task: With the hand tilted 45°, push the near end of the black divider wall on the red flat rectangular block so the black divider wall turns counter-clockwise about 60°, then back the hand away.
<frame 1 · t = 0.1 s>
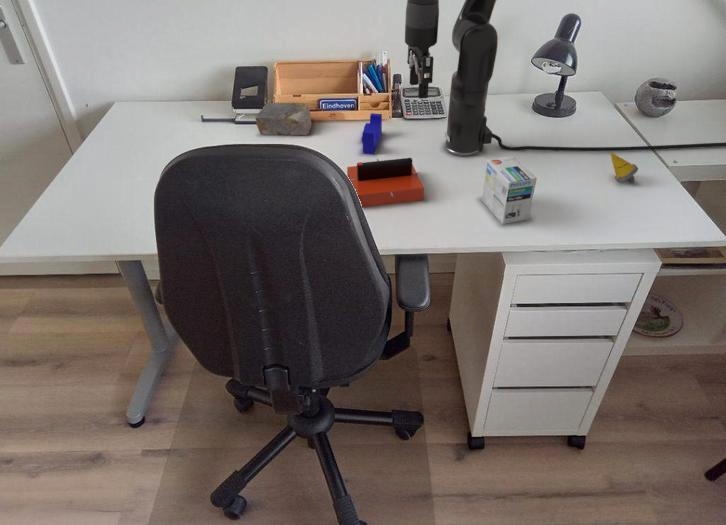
hand: (418, 90, 134), 17 cm above the table, tool pointing down, fingers open, 8 cm apart
cable clip: (369, 143, 150), on the table
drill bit: (619, 182, 133), on the table
red flat rectangular block: (384, 189, 131), on the table
black divider wall: (384, 168, 128), point 6 cm above the table, hinge at 0.0°
geological specimen: (286, 127, 158), on the table
light bulb box: (503, 210, 124), on the table
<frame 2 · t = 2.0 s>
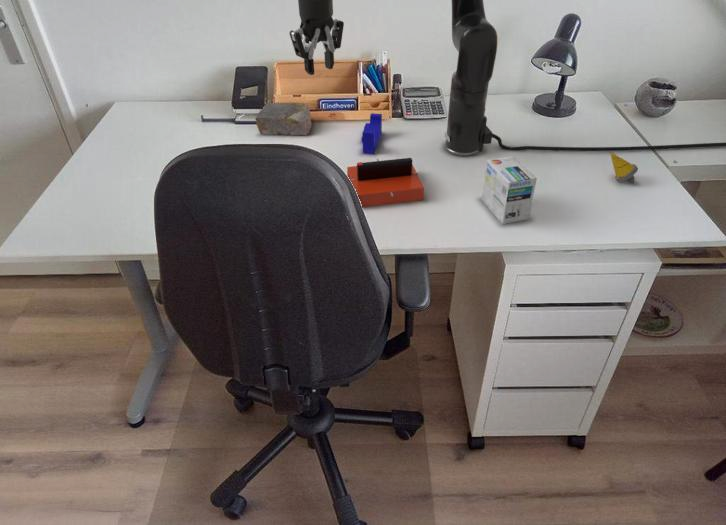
hand: (320, 70, 129), 23 cm above the table, tool pointing down, fingers open, 5 cm apart
nothing on the table moved.
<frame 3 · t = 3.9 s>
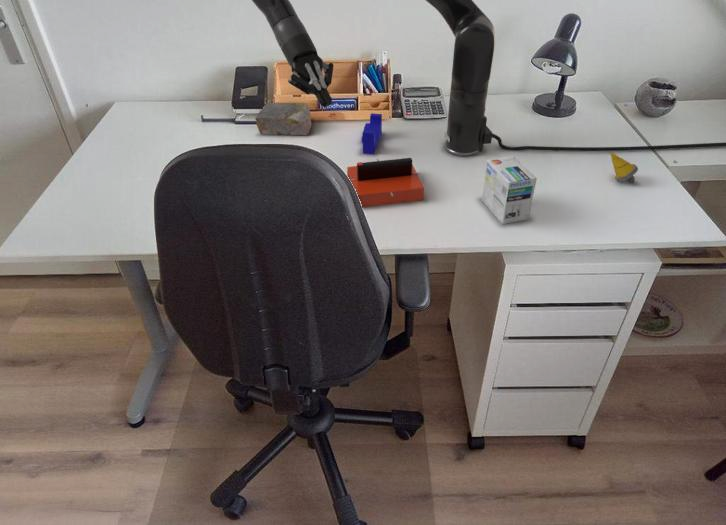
hand: (328, 105, 132), 16 cm above the table, tool tilted 45°, fingers closed
nothing on the table moved.
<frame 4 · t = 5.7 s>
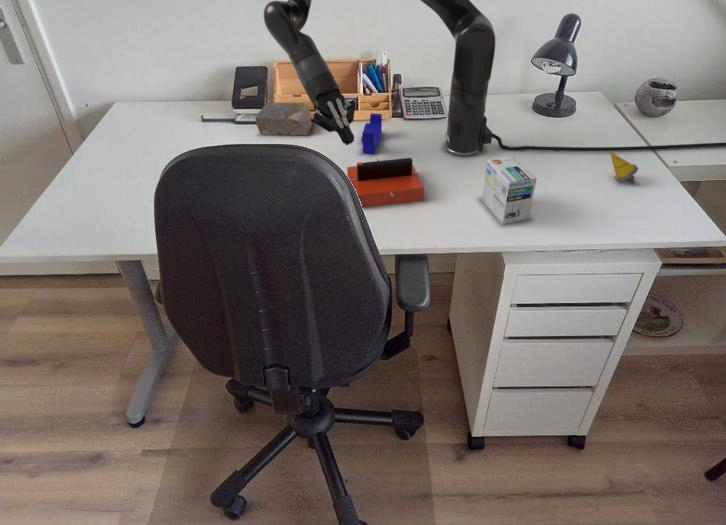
hand: (350, 143, 131), 9 cm above the table, tool tilted 45°, fingers closed
nothing on the table moved.
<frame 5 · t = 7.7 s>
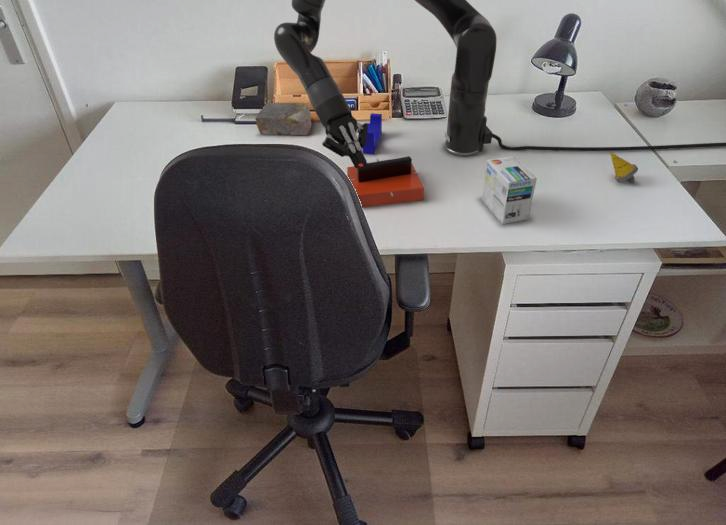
hand: (362, 167, 128), 6 cm above the table, tool tilted 45°, fingers closed
black divider wall: (384, 168, 128), point 6 cm above the table, hinge at 6.3°, touching gripper
everything else where it was.
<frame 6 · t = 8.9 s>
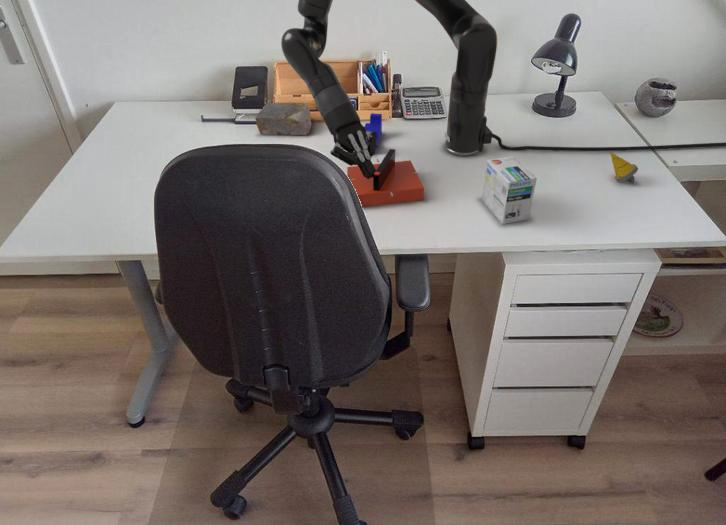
hand: (371, 177, 125), 6 cm above the table, tool tilted 45°, fingers closed
black divider wall: (384, 168, 128), point 6 cm above the table, hinge at 60.7°
everything else where it was.
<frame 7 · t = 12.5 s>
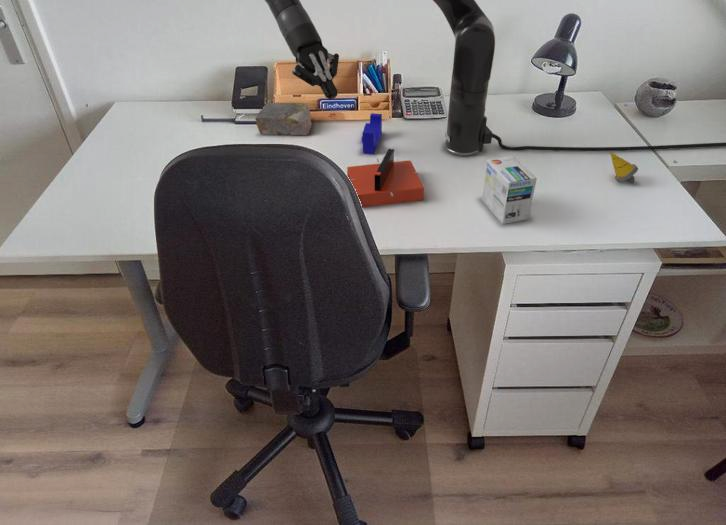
hand: (333, 97, 127), 19 cm above the table, tool tilted 45°, fingers closed
black divider wall: (384, 168, 128), point 6 cm above the table, hinge at 63.5°
everything else where it was.
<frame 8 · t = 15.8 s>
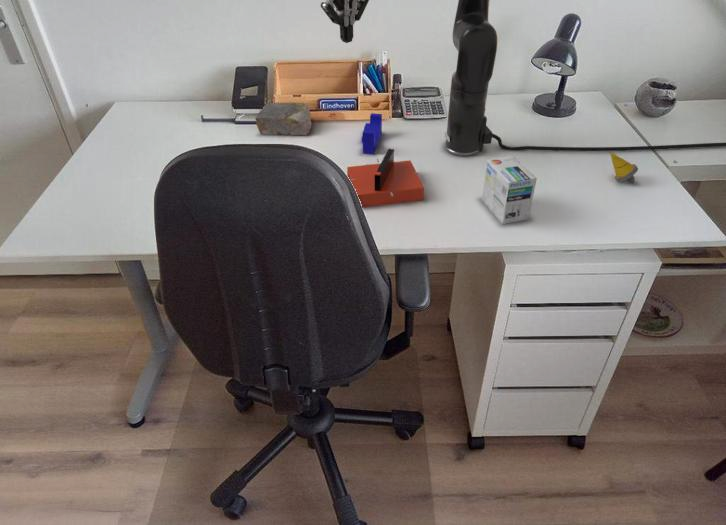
hand: (347, 41, 127), 29 cm above the table, tool pointing down, fingers closed
nothing on the table moved.
at the end: black divider wall at +64° (first picture: +0°); cable clip moved 0.2 cm from its start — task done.
